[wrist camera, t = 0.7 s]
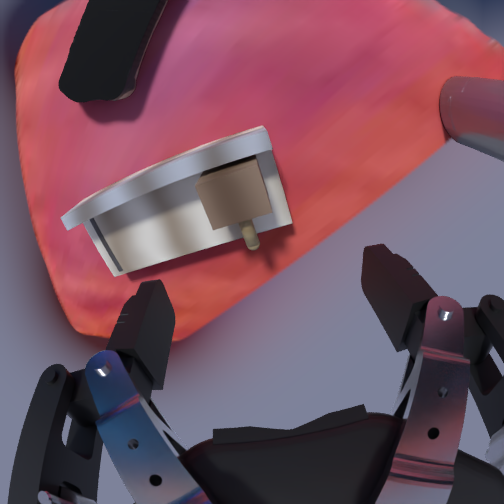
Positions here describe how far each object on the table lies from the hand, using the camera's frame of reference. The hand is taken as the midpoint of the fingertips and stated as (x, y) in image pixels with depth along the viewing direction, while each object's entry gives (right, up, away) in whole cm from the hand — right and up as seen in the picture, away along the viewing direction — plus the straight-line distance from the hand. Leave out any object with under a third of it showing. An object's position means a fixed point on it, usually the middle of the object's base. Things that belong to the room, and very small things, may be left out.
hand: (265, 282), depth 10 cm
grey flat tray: (-8, +6, +18) cm, 21 cm away
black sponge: (-14, +24, +8) cm, 29 cm away
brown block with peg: (-1, +6, +15) cm, 17 cm away
